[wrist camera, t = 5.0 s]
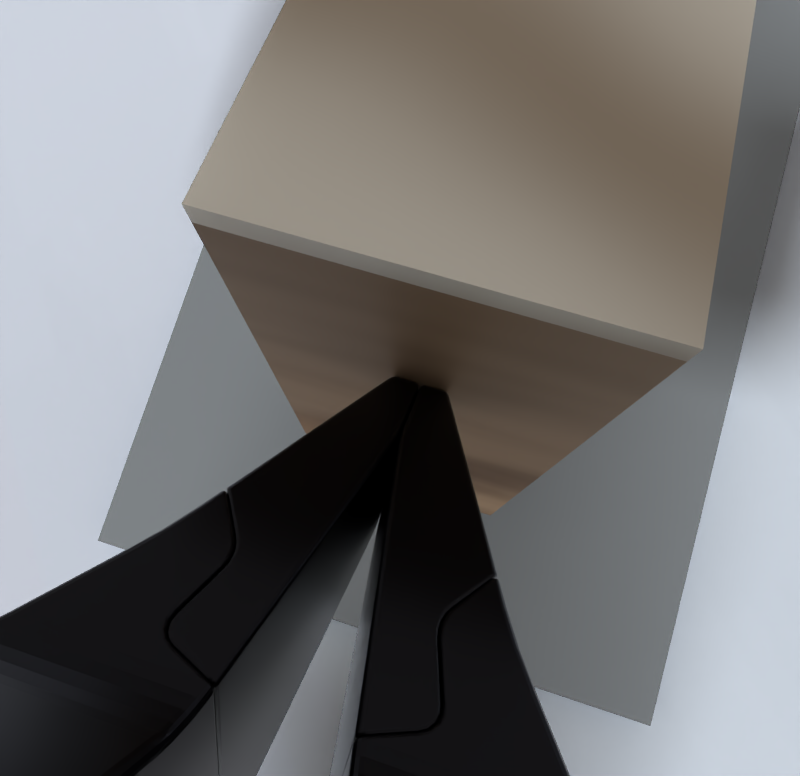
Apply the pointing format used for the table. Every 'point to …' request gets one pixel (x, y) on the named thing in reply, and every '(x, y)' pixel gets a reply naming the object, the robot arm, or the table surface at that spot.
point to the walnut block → (480, 208)
